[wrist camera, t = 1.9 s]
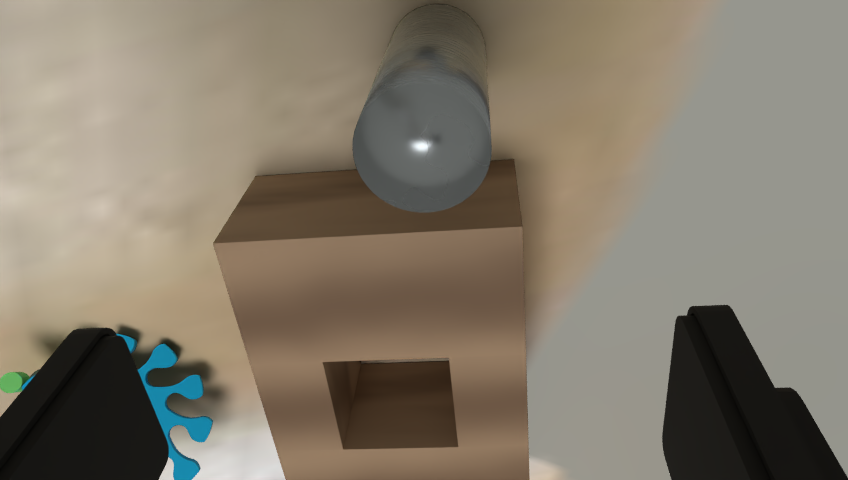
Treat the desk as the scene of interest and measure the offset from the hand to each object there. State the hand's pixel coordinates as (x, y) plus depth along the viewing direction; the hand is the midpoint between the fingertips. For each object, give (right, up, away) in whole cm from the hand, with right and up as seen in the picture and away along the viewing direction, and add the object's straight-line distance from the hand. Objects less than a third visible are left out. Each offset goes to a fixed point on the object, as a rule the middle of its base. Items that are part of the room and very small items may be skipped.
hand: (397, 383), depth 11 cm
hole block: (-1, -2, +24) cm, 24 cm away
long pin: (+1, +10, +16) cm, 19 cm away
